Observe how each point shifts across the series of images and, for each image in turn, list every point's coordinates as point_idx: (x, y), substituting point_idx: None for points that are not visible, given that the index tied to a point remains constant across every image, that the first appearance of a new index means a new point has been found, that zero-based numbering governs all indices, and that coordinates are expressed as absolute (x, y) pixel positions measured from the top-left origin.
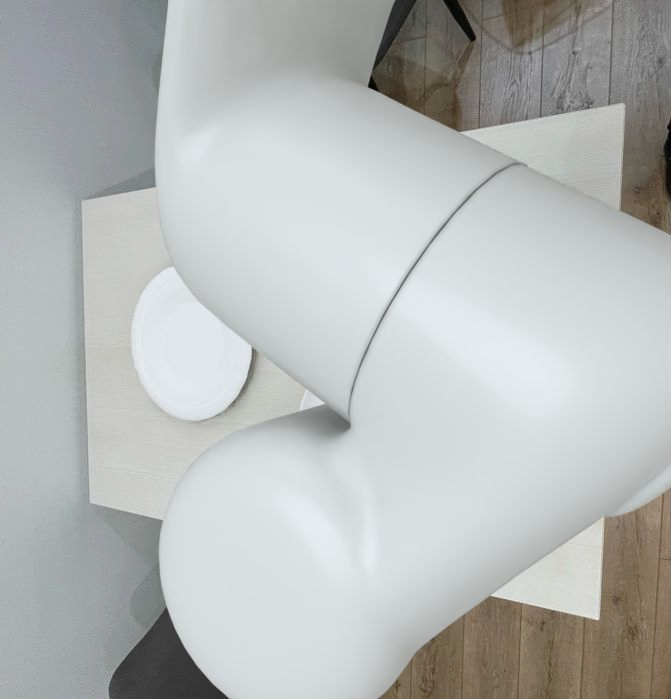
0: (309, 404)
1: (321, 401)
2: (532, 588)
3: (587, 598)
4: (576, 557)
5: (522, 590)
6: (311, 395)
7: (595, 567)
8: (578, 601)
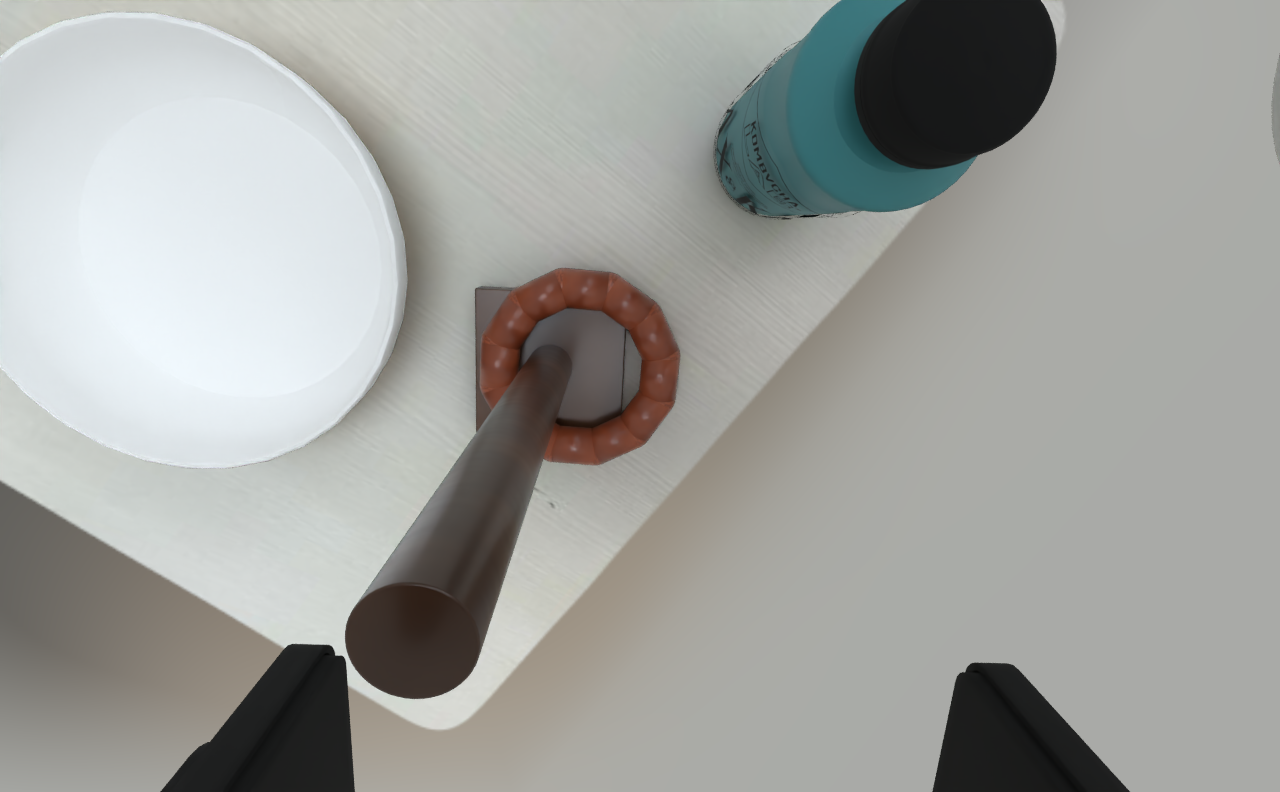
0: (32, 83)
1: (87, 100)
2: None
3: (452, 724)
4: (476, 666)
5: (352, 676)
6: (52, 63)
7: (495, 690)
8: (435, 723)
